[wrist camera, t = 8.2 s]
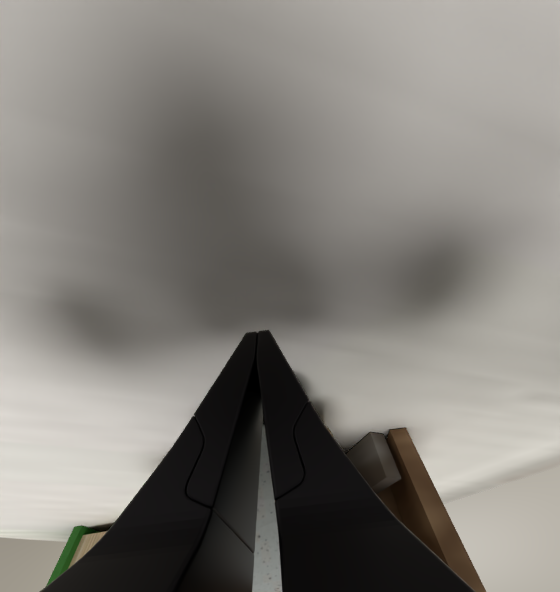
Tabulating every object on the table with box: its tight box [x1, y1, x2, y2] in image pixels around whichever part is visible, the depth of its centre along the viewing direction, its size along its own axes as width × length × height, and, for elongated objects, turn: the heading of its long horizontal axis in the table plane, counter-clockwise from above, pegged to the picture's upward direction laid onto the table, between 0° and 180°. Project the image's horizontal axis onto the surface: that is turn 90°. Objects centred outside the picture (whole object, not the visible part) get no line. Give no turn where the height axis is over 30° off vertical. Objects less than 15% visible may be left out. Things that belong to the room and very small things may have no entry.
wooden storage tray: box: [346, 428, 486, 592], centre depth 15 cm, size 18×6×11 cm, turn 95°
